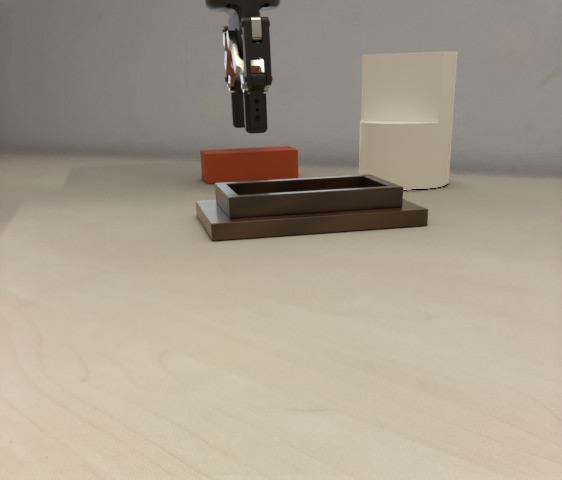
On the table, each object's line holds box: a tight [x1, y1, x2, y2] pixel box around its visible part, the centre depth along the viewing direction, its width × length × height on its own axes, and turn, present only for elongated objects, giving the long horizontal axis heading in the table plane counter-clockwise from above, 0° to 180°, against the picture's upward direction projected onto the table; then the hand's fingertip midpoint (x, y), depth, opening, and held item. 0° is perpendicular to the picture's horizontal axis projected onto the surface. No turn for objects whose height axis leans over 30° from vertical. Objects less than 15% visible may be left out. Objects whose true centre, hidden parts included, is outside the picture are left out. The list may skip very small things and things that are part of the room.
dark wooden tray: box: [195, 174, 429, 242], centre depth 54 cm, size 16×10×3 cm, turn 102°
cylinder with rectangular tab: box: [358, 50, 459, 190], centre depth 69 cm, size 9×9×12 cm
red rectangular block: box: [199, 145, 299, 185], centre depth 77 cm, size 10×4×3 cm, turn 102°
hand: (249, 130), depth 75 cm, fingers open, 8 cm apart
